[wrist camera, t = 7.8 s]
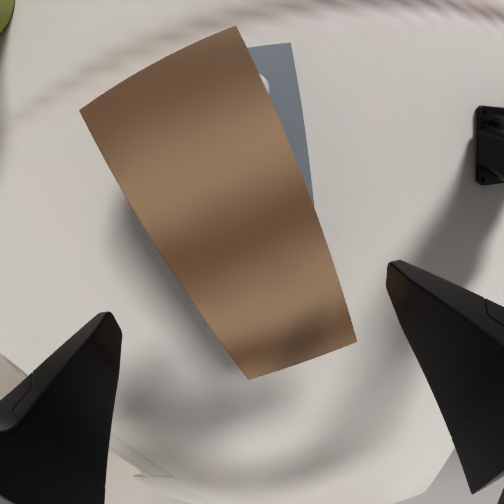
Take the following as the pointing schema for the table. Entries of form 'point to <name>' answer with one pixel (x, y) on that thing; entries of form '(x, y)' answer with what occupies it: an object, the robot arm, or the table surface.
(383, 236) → the table surface
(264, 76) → the peg stand
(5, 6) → the plant pot
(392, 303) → the robot arm
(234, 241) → the shelf board
